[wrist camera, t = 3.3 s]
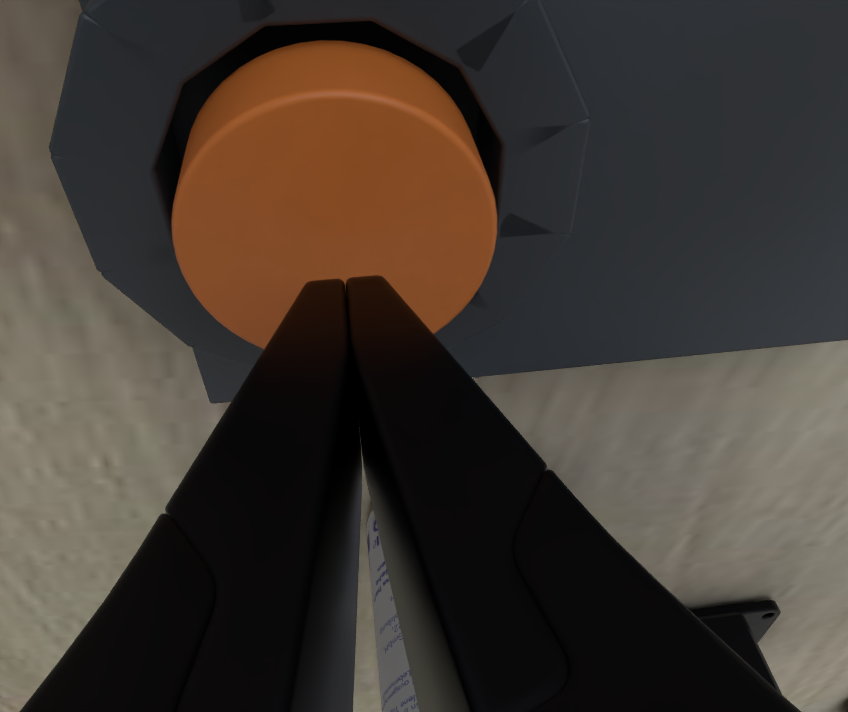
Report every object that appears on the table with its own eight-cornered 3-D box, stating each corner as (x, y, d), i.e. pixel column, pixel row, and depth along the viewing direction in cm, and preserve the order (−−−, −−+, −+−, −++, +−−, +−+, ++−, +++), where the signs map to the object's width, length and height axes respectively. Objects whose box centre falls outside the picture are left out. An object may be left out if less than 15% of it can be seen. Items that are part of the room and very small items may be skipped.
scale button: (483, 28, 9) (512, 80, 7) (470, 285, 11) (489, 351, 10) (148, 47, 8) (126, 104, 7) (219, 307, 11) (210, 377, 10)
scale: (1230, -374, 9) (1525, -390, 7) (858, 296, 17) (942, 387, 14) (-47, -375, 7) (-181, -394, 5) (194, 359, 15) (177, 470, 13)
